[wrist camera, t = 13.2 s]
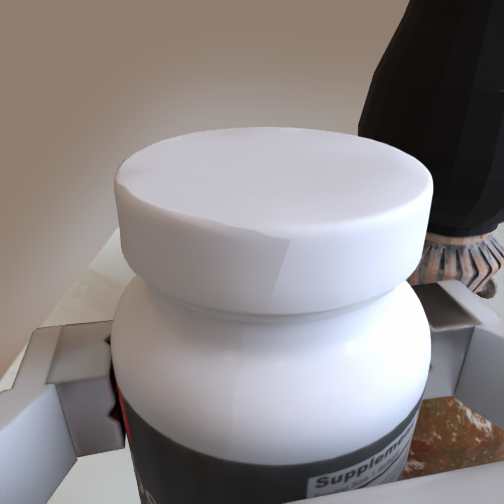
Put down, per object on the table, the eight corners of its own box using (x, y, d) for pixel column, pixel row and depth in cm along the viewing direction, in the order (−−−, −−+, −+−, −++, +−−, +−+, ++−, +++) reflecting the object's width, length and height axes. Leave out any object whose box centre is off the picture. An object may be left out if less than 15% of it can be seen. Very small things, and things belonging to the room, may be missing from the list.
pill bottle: (114, 520, 12) (15, 155, 7) (270, 408, 15) (275, 106, 10) (255, 761, 8) (250, 326, 3) (424, 543, 11) (546, 162, 6)
